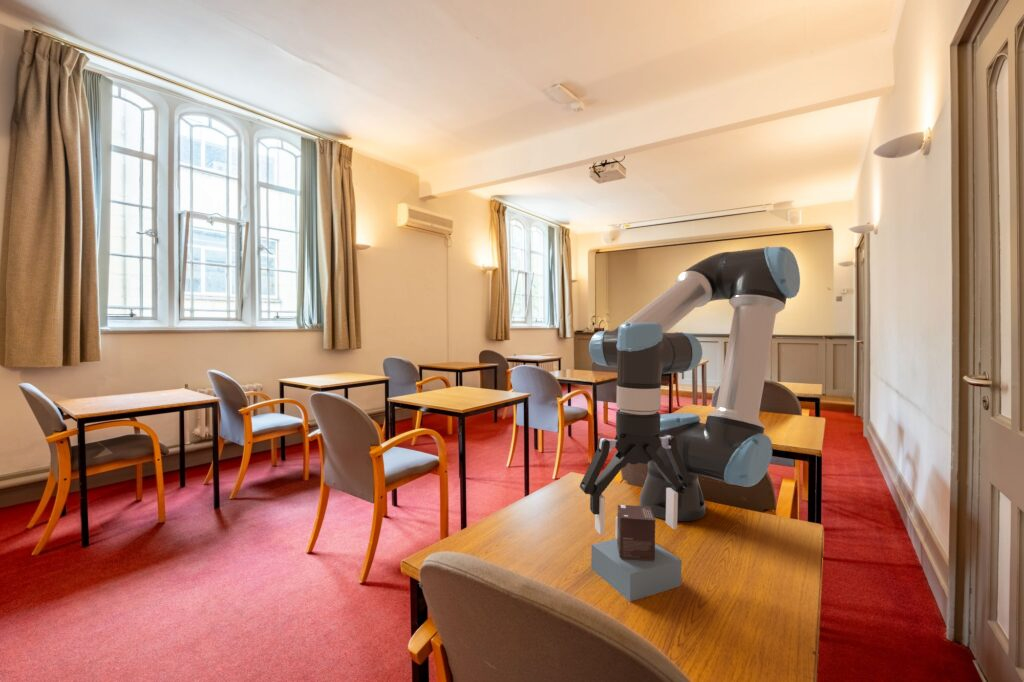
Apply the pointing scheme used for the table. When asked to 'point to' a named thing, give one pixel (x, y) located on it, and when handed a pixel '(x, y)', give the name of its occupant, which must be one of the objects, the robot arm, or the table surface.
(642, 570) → the slate block
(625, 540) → the box
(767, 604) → the table surface
